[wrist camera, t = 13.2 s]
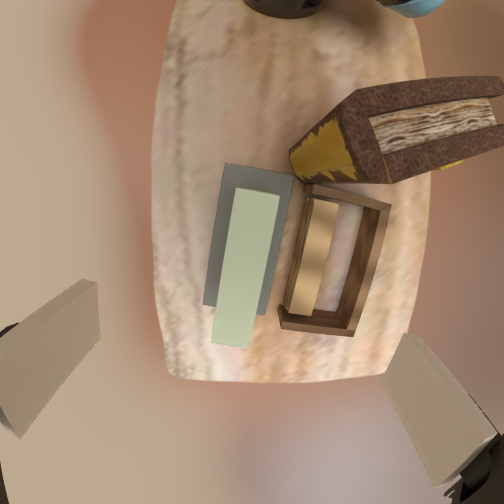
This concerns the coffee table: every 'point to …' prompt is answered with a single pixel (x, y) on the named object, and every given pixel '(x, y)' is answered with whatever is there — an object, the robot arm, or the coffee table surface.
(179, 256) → the coffee table surface
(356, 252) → the frame
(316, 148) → the book
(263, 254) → the pale green slab
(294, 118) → the coffee table surface
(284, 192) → the mat
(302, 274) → the brown wooden bar
